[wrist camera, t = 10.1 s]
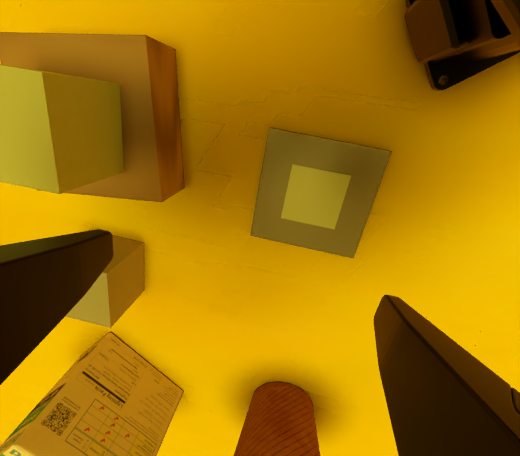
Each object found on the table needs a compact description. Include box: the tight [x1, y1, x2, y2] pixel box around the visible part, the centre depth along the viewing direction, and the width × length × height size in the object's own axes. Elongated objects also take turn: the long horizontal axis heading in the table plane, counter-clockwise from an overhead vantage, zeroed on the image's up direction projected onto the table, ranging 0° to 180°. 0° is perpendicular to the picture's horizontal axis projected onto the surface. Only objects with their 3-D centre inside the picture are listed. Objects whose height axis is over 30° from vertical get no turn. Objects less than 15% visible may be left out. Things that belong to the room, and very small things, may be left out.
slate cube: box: [65, 230, 144, 328], centre depth 23 cm, size 5×5×5 cm
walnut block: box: [0, 32, 184, 202], centre depth 18 cm, size 9×9×4 cm
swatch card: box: [251, 128, 392, 258], centre depth 20 cm, size 8×8×1 cm
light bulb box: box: [0, 332, 183, 456], centre depth 26 cm, size 11×7×11 cm, turn 44°
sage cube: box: [0, 64, 124, 194], centre depth 14 cm, size 5×5×5 cm
